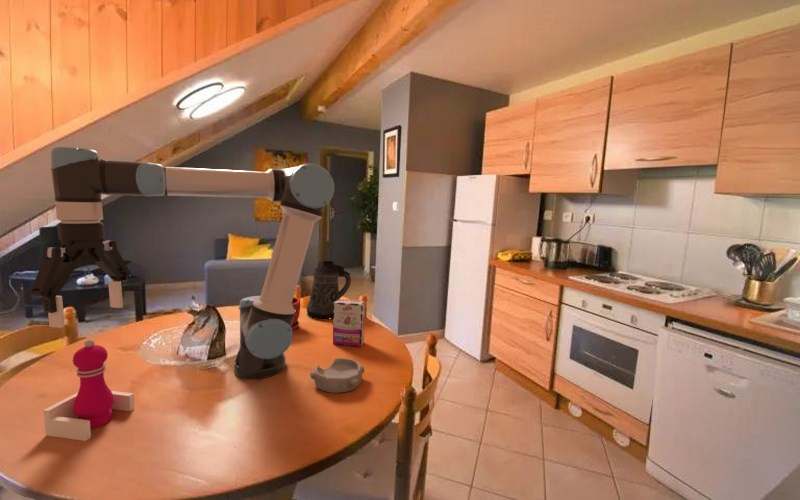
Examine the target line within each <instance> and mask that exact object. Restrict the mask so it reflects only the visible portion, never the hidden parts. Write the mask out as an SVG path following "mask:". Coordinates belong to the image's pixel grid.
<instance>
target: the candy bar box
mask: <svg viewBox="0 0 800 500" xmlns="http://www.w3.org/2000/svg"><path fill="white" fill-rule="evenodd" d="M365 310H366V301H363V300H353V299H350V300H349V299H340V300H336V301H335V302H334V304H333V319H332V321H333V322H332V323H333V324H332V345H334V346H335V345H336V346H337V345H338V346H348V347H359V348H361V347H362V346H363V344H364V343H365V319H366V318H365V317H366V316H365V315H366V314H365V313H366V311H365Z"/></svg>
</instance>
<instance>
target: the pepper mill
mask: <svg viewBox="0 0 800 500" xmlns="http://www.w3.org/2000/svg"><path fill="white" fill-rule="evenodd" d="M95 343H96V342H95V341H94V340H93V339H87V340H86V341H84V346H83V347H81V348H79V349H78V350H76V351H75V353H74V354H73V357H72V364H73V365H74V367H75V368H77V369H76V376H77V377H78V378H79V379H80V380H79V381H80V382H79V389H78V391H77V393H78V394H77V396H76V399H75V401H74V405H73V412H74V414H75V415H77V416H79V417H78V418H77V419H82V420H89V421H90V430H93V429H96V428H99V427H101V426H104V425H106V424H107V423H109V422H111V420H112V419H113V409H111V408H110V407H111V406H112V405H113V403H114V397H113V394H112V392H111V391H112V390H111V389H110V388H109V386H108V385H107V383H106V380H105V377H104V373H105V371H106V370H107V369H106V364H105V362H106V361H107V359H108V350H107V348H105V347H104V346H102V345H99V344H95Z"/></svg>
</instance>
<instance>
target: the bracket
mask: <svg viewBox="0 0 800 500" xmlns="http://www.w3.org/2000/svg"><path fill="white" fill-rule="evenodd" d="M111 392H112V394H113V397H114V403H113V405H112V406H111V407H110V408H111V409H112V410H116V411H117V410H118V411H124V412H131V411H133V410H134V409H135V397H134V396H135V395H134V393H133V392H123V391H115V390H111ZM77 394H78V392H76V393H74V394H72V395H70V396H68V397H66V398H65V399H64V398H63V399H62V400H59V402H56V403H54V404H53V405H50V406H48V407H47V408H45V409H43V418H44V419H43V420H44V430H45V436H46V437H53V438H61V439H68V440H75V441H83V442H86V441H88V440H90V439H91V438H92V433H91V429H90V421H89V420H82V419H77V418H78V417H79V416H77V415H75V414H74V412H73V405H74V401H75V399H76V396H77Z"/></svg>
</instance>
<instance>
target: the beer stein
mask: <svg viewBox="0 0 800 500" xmlns="http://www.w3.org/2000/svg"><path fill="white" fill-rule="evenodd" d="M312 276H313V279H312V285H311V291H310V296H309V300H308V302H307V305H306V309H305V310H306V314H307V316H308V317H309V319H313V318H315V319H314V320H320V319H327V320H330V319H329V318H333V304H334V302H335V301H336V300H341V298H342V297H343V296H344V295H345V294H346V292H348V290H349V288H350V287H351V283H352V277H351V274H350V273H349V272H347V270H345V268H344V267H343V266H342V265H341V264H335V263H334V261H332V260H331V261H329V260H325V261H324V260H323V261H322V262H321V264H319V265H318V266H317V267H315V268H314V269H313V270H312ZM341 277H343V278H345V283H344V285H343V287H341V289H340V288H339V278H341Z"/></svg>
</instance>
